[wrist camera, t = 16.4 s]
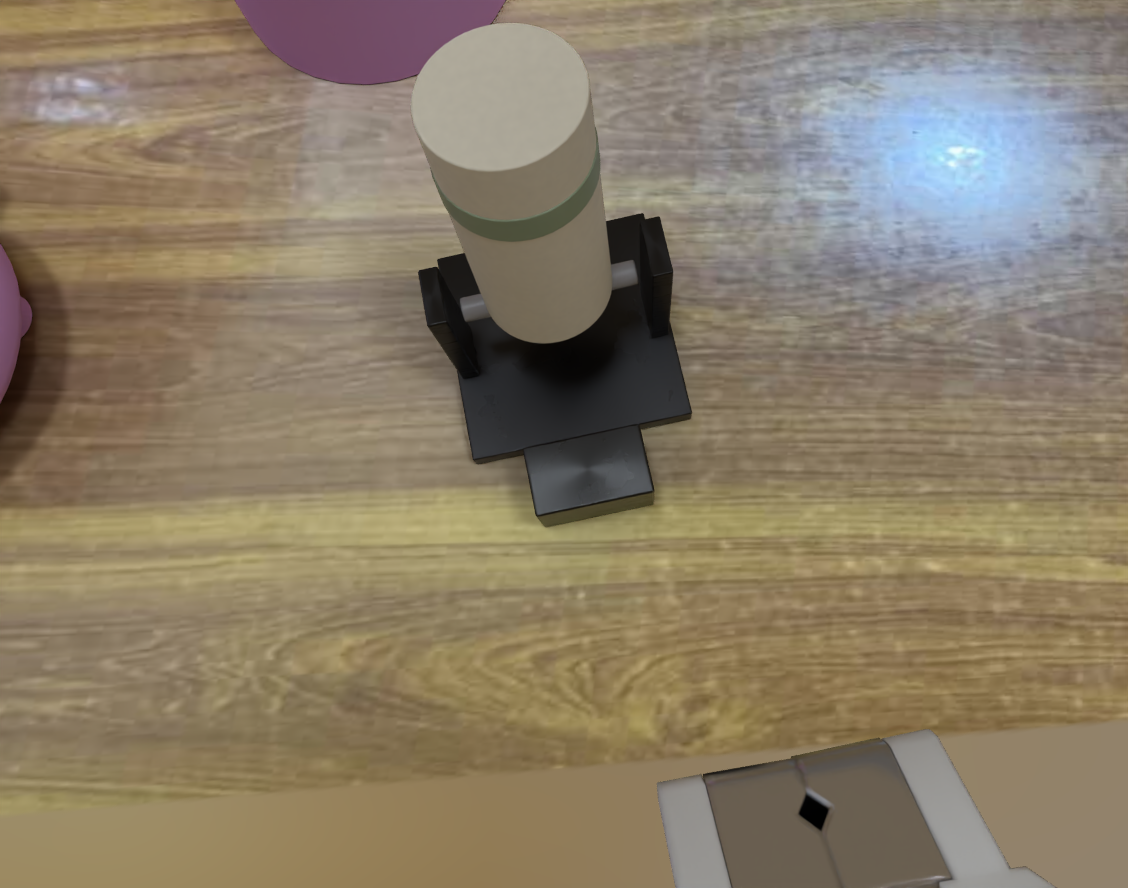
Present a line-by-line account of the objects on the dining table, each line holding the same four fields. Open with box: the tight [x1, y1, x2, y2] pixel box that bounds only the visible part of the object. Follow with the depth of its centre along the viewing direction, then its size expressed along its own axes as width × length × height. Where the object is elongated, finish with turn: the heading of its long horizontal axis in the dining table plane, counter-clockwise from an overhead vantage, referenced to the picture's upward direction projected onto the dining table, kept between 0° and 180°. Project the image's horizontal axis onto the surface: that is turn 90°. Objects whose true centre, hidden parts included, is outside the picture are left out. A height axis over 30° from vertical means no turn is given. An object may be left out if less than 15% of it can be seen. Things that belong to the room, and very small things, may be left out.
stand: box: [418, 213, 692, 527], centre depth 38 cm, size 14×10×8 cm
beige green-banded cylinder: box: [411, 23, 638, 343], centre depth 31 cm, size 12×7×5 cm
